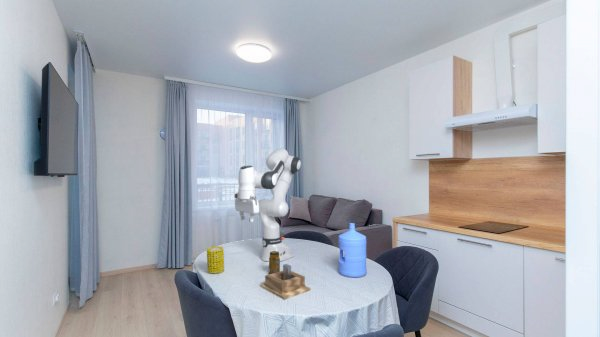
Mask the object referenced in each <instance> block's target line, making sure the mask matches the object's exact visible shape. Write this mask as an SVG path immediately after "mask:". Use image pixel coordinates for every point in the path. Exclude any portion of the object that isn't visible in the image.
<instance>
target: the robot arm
mask: <svg viewBox="0 0 600 337" xmlns="http://www.w3.org/2000/svg"><path fill="white" fill-rule="evenodd" d="M265 164H266V167H267V169H268V170H269V171H257V170H256V169H255V167H254V166H253V165H242V166H241V167H239V170H238V185H239V186H238V192H236V193H235V194H234V209H235V211H236V212H238V213H239V216H240V220H242V221H243V220H245V218H246V216H245V214H244V213H246V214H249V216H250V217H249V219H248V220H249V222H250V223H254V218H255V216H256V215H258V216H259V218H260V220H261V224H262V250H261V256H260V260H261V261H263V262H269V257H270V252H272V251H278V252H279V257H280V262H282V261H286V260H288V259H291V258H293V257H294V256H295V255H294V254H293V253H292V252H291V249H290V247H289V246H288V245H287V244H285V243H284V242H283V241H285V240H286V239H285V237H284V236H280V235H281V232H280V224H279V223H278V222H277V221H276V218H282V217H285V216H287V214H288V213H289V205H288V203H287V201H286V197H287V196H286V195H287V193H288V190H289V189H290V185H291V183H292V178H293V175H295V174H296V173H297V172H298V171H299V170H300V169H301V167H302V161H301V159H300V157H298V156H294V155H290V154H289V152H288V150H286V149H285V148H283V147H281V148H277V149H276V150H274V151H272V152H271V153H270V154H269V155H268V156H267V158H266V159H265ZM256 189H263V190H270V192H271V194H272V199H267V198H266V199H265V198H262V199H259V200H258V198H257V196H256Z"/></svg>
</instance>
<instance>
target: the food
mask: <svg viewBox="0 0 600 337" xmlns="http://www.w3.org/2000/svg"><path fill="white" fill-rule="evenodd" d="M224 252H225V251H224V247H223V246H215V245H214V246H213V245H212V246H209V247H208V248H207V249H206V260H207V261H206V262H207V264H206V265H207V272H208V274H219V275H220V273H222V272H224V271H225V254H224Z"/></svg>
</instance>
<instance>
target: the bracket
mask: <svg viewBox="0 0 600 337" xmlns="http://www.w3.org/2000/svg"><path fill="white" fill-rule="evenodd" d="M282 271H283V281H285V280H288V279H291V271H292V265H290V264H288V263H284V264H283V265H282Z"/></svg>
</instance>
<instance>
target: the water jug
mask: <svg viewBox="0 0 600 337" xmlns="http://www.w3.org/2000/svg"><path fill="white" fill-rule="evenodd" d="M348 224H349V226H348V227H349V229H348V230H347V231H345V232H343V233H341V234H339V235H338V248H339V259H338V273H339V274H340V275H341V276H343V277H347V278H354V277H355V278H361V277H364V276H366V274H367V270H368V269H367V236H366V235H364V234H362V233H360V232H359V231H356V226H355V225H356V223H354V222H353V223H352V222H349V223H348Z"/></svg>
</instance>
